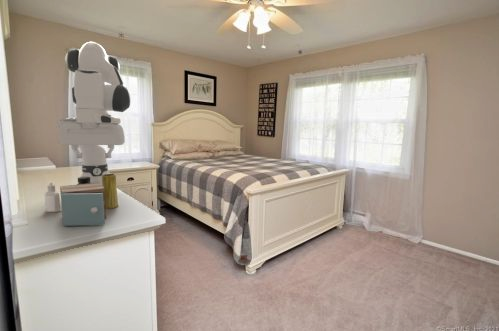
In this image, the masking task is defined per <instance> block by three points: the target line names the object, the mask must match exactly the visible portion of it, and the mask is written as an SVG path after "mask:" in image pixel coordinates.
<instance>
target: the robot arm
mask: <svg viewBox="0 0 499 331" xmlns="http://www.w3.org/2000/svg"><path fill="white" fill-rule="evenodd" d="M65 64H66V66H67V68H68V70H69V71H70V72H72V73H74V80H73V87H72V88H71V96H72V103H74V104H75V117H62V118H61V119H60V120H59V121H58V129H59V132H58V141H59V143H60V144H61V146H71V150H72V151H73V152H74V154H75V159H82V165H81V171H82V173H81V174H80V176H79V177H90V180H91V181H90V182H91V183H100V184H101V185H102V175H103V174H111V173H110V172H109V171H108V170H109V167H108V163H107V159H111V158H112V153H113V151H114V150H115V146H122V145H124V144H125V141H126V140H125V132H124V130H123V129H124V128H123V126H122V125H121V118H119V117H118V116H114V115H111V114H109V113H108V112H117V113H124V112H125V111H126V110H128V109H129V108H130V106H131V95H130V93H129V90H128V88H127V86H126V85H125V83H124V81H123V78H122V76H121V73H120V70H121V68H120V63H119V60H118V58H117V57H114V56H112V55H107V53H106V50H105V49H104V47H103V46H102V45H101V44H100V43H97V42H95V41H89V42H86V43H84V44H83V45H82V46H81V48H80V49H78V48H73V49H69V50H68V51H67V53H66V55H65ZM106 83H107V84H106ZM103 146H107V148H108V151H106V149H105V148H104V147H103ZM79 148H80V150H79ZM102 186H103V185H102Z"/></svg>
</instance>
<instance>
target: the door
mask: <svg viewBox="0 0 499 331" xmlns="http://www.w3.org/2000/svg"><path fill="white" fill-rule="evenodd" d="M61 202H62V205H61V214H63V217H62V221H63V222H62V224H63V227H68V226H96V225H97V226H99V225H101V226H103V225H105V219H104V203H103V193H71V194H61V193H60V203H61Z"/></svg>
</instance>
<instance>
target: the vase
mask: <svg viewBox="0 0 499 331" xmlns="http://www.w3.org/2000/svg"><path fill="white" fill-rule="evenodd" d="M102 185H103V187H104V188H105V206H106V210H107V209H108V210H109V209H115V208H117V207H119V202H118V189H117V176H116V173H110V174H103V175H102Z"/></svg>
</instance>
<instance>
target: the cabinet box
mask: <svg viewBox="0 0 499 331" xmlns="http://www.w3.org/2000/svg"><path fill="white" fill-rule="evenodd" d="M77 184H78V183H77ZM77 184H70V185H68V184H67V185H60V186H59V188H60V195H61V194H71V193H103V203H104V220H106V219H107V209H106V206H105V188H104V187H103V186H102V185H101V184H100V183H89V184H78V185H77ZM60 206H62V202H61V201H60ZM61 214H62V213H61ZM61 217H62V218H63V214H62V216H61Z"/></svg>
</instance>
